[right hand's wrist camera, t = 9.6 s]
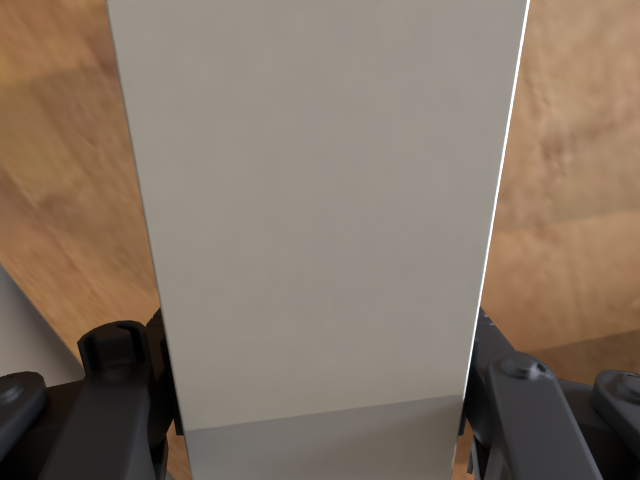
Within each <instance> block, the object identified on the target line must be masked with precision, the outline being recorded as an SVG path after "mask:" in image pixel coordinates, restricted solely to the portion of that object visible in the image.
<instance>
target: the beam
mask: <svg viewBox="0 0 640 480" xmlns="http://www.w3.org/2000/svg"><path fill="white" fill-rule="evenodd" d="M529 1H530V0H105V5H106V11H107V16H108V22H109V27H110V32H111V38H112V43H113V49H114V54H115V60H116V65H117V71H118V76H119V82H120V87H121V93H122V98H123V104H124V109H125V115H126V120H127V126H128V131H129V137H130V142H131V148H132V153H133V159H134V164H135V170H136V175H137V181H138V186H139V192H140V197H141V203H142V208H143V214H144V219H145V225H146V230H147V236H148V241H149V247H150V252H151V258H152V263H153V269H154V274H155V280H156V285H157V291H158V296H159V302H160V307H161V313H162V318H163V323H164V329H165V334H166V340H167V345H168V351H169V356H170V362H171V367H172V373H173V378H174V384H175V389H176V395H177V400H178V406H179V411H180V417H181V422H182V428H183V433H184V439H185V444H186V450H187V455H188V461H189V466H190V472H191V477H192V480H451V477H452V471H453V465H454V459H455V452H456V446H457V440H458V434H459V428H460V422H461V416H462V410H463V404H464V398H465V391H466V385H467V379H468V373H469V367H470V361H471V355H472V349H473V343H474V336H475V330H476V324H477V318H478V312H479V306H480V300H481V294H482V288H483V282H484V275H485V269H486V263H487V257H488V251H489V245H490V239H491V233H492V227H493V220H494V214H495V208H496V202H497V196H498V190H499V184H500V178H501V172H502V166H503V159H504V153H505V147H506V141H507V135H508V129H509V123H510V117H511V111H512V104H513V98H514V92H515V86H516V80H517V74H518V68H519V62H520V56H521V49H522V43H523V37H524V31H525V25H526V19H527V13H528V7H529Z"/></svg>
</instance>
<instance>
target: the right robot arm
mask: <svg viewBox="0 0 640 480" xmlns="http://www.w3.org/2000/svg"><path fill="white" fill-rule="evenodd" d="M77 345H78V348H79V352H80V356H81V359H82V363H83V366H84V370H85V374H86V375H85V377H84V379H83V380H80V381H76V382H71V383H66V384H61V385H57V386H52V387H47V388H46V385H45V381H44V378H43V377H42V376H41V375H40V374H39V373H37V372H29V371H26V372H19V373H13V374H9V375H6V376H2V377H0V480H165V476H166V468H167V459H168V451H169V449H168V441H167V436H166V433H167V431H168V429H169V427H170V425H171V422H172V420H173V418H174V424H175V429H176V435H184V433H183V428H182V422H181V417H180V411H179V406H178V400H177V395H176V389H175V384H174V378H173V373H172V367H171V362H170V356H169V351H168V345H167V340H166V334H165V329H164V323H163V318H162V313H161V307H160V308H159V309H158V311H157V312H156V313H155V314H154V316H153V318H151V319H150V321H149V322H148V323H147V324H146V327H145V326H144V325H143V324H141V323H140V322H136V321H131V320H127V321H116V322H112V323H107V324H104V325H102V326H99V327H97V328H94V329H93V330H91V331H89V332H88V333H86V334H85V335H83V336H82V337H81V339H80V340H79V341H78V342H77ZM466 417H467V419H468V421H469V423H470V425H471V428H472V430H473V432H474V436H473V441H472V446H471V452H470V457H469V462H468V468H467V473H470V474H472V471H473V467H474V475H475V480H640V375H638V374H634V373H631V372H627V371H619V370H606V371H602V372H601V373H599V374H598V375H597V377H596V380H595V383H594V386H591V385H586V384H581V383H577V382H572V381H567V380H563V379H559V378H556V377H555V375H554V373H553V372H552V370H551V369H550V368H549V366H547V365H546V364H545V363H543V362H542V361H541V360H539V359H537V358H535V357H533V356H531V355H529V354H527V353H523V352H519V351H515V349H514V348H513V347H512V346H511V344H510V343H509V342H508V341H507V339H506V338H505V337H504V336H503V334H502V333H501V332H500V331H499V329H498V328H497V327H496V326H495V325H494V323H493V322H492V321H491V319H490V318H489V317H487V314H486V313H485V312H484V311H483V309H482V308H481V307H480V306H479V312H478V318H477V324H476V330H475V336H474V343H473V349H472V355H471V361H470V367H469V373H468V379H467V385H466V391H465V398H464V404H463V410H462V416H461V422H460V428H459V434H458V435H463V433H464V428H465V422H466Z"/></svg>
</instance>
